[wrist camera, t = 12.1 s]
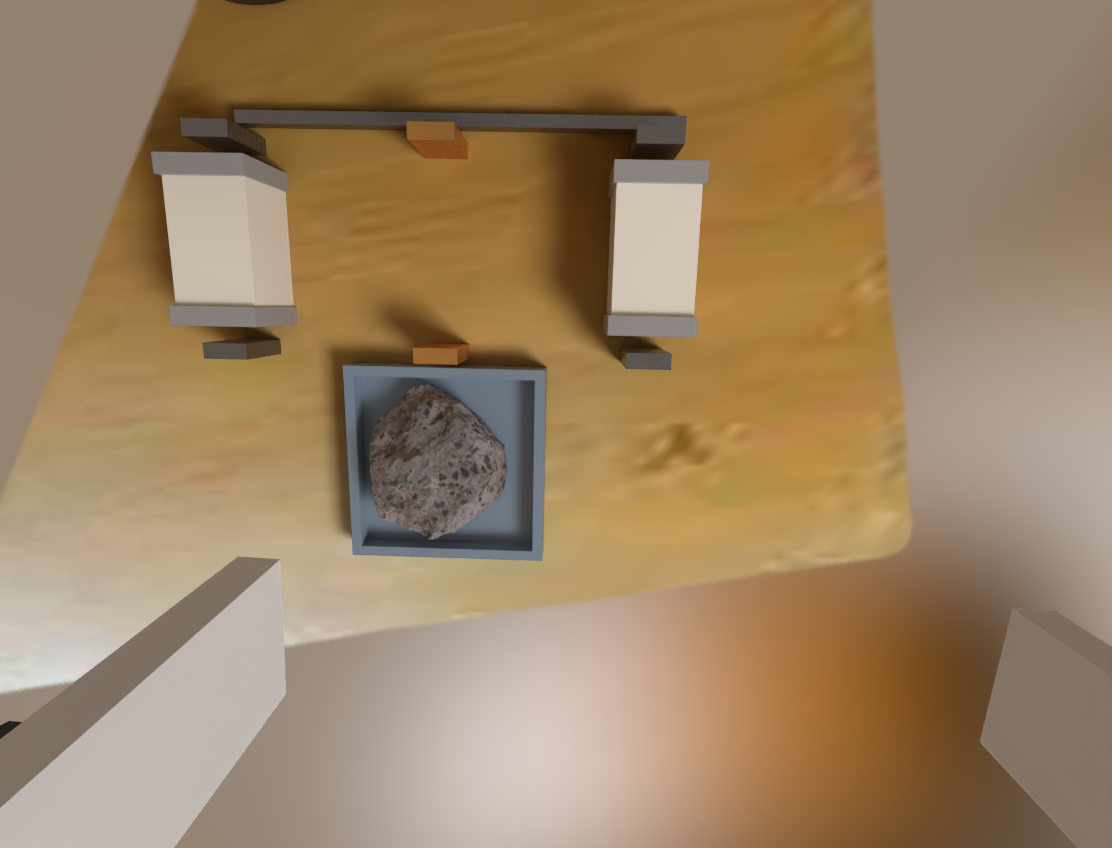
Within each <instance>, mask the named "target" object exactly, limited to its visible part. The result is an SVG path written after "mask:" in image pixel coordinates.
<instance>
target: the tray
mask: <svg viewBox="0 0 1112 848" xmlns="http://www.w3.org/2000/svg"><path fill="white" fill-rule="evenodd" d="M546 375H547V367H514V366H473V365H433V364H392V363H350V364H346V365H343V380H344V398H345V417H346V436H347V455H348V474H349V493H350V511H351V530H352V549H353V555H378V556H409V557H440V558H471V559H502V560H533V561H542V556H543V538H544V484H545V429H546ZM421 383H422V384H429V385H430V386H432V387H434V388H437V389H440V390H442V391H444V392H446V393H448V394H449V395H450V396H452V397H454V398H456V399H457V400H459V401H460V402H462V403H464V404H465V405H466V406H467V407H468V408H469V410H470V411H471V412H474V413H475V414H476V415H477V416H479V417H480V418H481V419H482V420H483V421H484V422H485V423H486V425H487V426H489V427H490V429H491V430H492V432H493V433H494V434H495V436H496V438H497V439H498V440H499V441H500V442H501V443H502V444H503V445H504V446H505V452H506V459H507V463H506V465H507V475H506V479H505V487H504V490H503V492H502V494H501V496H500V497H499V499H497V500H495V501H494V502H492V503H491V504H489V505H487V507H486V508H485V509H484V510H483V511H482V512H480V513H479V514H478V515H477V516H476V517H475V519H474V520H471V521H469V522H468V523H466V524H464V525H463V526H462V527H461V528H459V529H458V530H457V531H456V532H454V533H446V534H443V535H441V536H440V537H438V538H436V539H433V540H429V539H427V537H426V536H424V535H422V534H421V533H419V532H417V531H414V530H408V529H406V528H403V527H400V526H399V525H398V524H397V523H396V522H394V521H391V522H387V521H384V520H382V519H381V518H380V517H379V515H378V513H377V510H376V507H375V504H374V498H373V491H372V480H371V474H370V464H369V447H370V440H371V438H372V433H373V430H374V428H375V425H376V423H377V420H378V417H379V416H380V415H381V414H382V413H388V412H389V411H390V410H391V409H392V408H394V407H395V406H396V405H398V404H399V403H400V402H401V399H402V397H403V396H404V395H406V393H407V391H408V390H409V389H410V388H411V387H413V386H416V385H419V384H421Z"/></svg>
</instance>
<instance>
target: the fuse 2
mask: <svg viewBox="0 0 1112 848" xmlns="http://www.w3.org/2000/svg"><path fill="white" fill-rule="evenodd" d="M708 173H709V161H694V160H633V159H615V160H614V163H613V167H612V170H611V173H610V177H609V188H608V198H611V214H610V240H609V266H608V292H607V314H604V321H603V332H604V333H605V334H607V335H608V336H651V337H694V338H697V329H698V317H694V305H695V290H696V276H697V261H698V247H699V232H700V218H701V203H702V189H703V187H704V186H705V185H706V184H707V183H708Z"/></svg>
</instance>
